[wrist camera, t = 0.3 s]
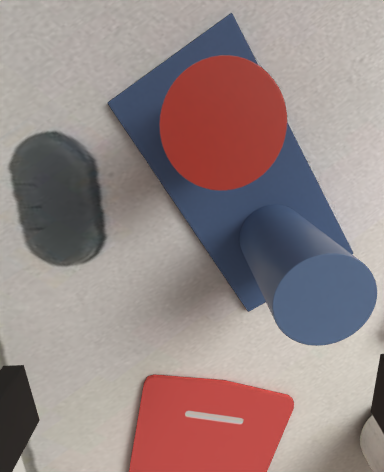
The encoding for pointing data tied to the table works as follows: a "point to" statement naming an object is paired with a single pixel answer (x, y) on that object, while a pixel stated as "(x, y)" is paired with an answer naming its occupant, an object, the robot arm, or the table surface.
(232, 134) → the red tin
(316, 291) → the blue tin
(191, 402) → the desk lamp
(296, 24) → the table surface
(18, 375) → the robot arm
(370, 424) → the planter
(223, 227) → the blue mat
